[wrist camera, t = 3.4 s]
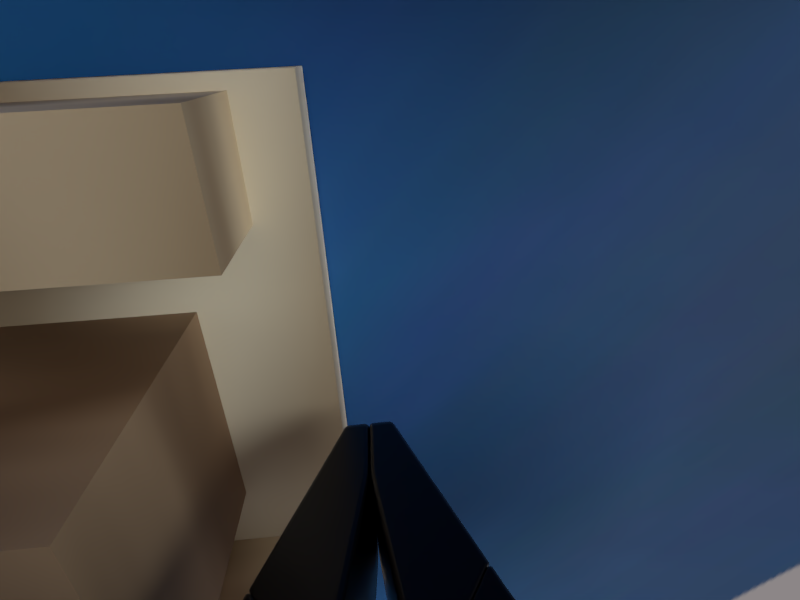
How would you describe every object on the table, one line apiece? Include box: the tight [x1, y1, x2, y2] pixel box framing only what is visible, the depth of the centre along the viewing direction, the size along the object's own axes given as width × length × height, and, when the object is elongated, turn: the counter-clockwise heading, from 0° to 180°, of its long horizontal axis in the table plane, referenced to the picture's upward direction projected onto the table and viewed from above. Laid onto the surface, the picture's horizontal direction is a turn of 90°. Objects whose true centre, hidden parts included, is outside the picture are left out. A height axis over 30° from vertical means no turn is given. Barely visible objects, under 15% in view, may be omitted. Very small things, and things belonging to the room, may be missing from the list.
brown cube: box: [0, 312, 246, 600], centre depth 7 cm, size 4×4×4 cm
